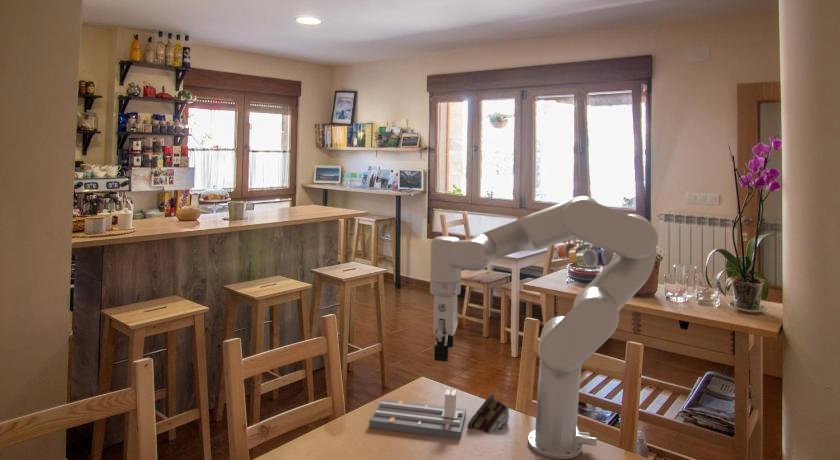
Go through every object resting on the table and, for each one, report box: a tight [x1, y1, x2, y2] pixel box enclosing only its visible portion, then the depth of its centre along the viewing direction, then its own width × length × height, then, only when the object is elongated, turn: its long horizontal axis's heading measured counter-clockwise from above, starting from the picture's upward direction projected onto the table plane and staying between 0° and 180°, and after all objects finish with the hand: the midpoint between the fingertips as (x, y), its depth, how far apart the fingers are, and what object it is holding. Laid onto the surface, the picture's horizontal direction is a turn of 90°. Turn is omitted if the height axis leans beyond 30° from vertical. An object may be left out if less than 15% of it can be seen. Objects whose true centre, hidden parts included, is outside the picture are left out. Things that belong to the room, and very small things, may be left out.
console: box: [368, 398, 467, 441], centre depth 139 cm, size 23×12×3 cm, turn 79°
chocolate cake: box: [467, 390, 510, 434], centre depth 139 cm, size 10×7×12 cm
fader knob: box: [441, 388, 458, 420], centre depth 136 cm, size 4×3×7 cm
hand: (443, 353), depth 135 cm, fingers open, 9 cm apart
